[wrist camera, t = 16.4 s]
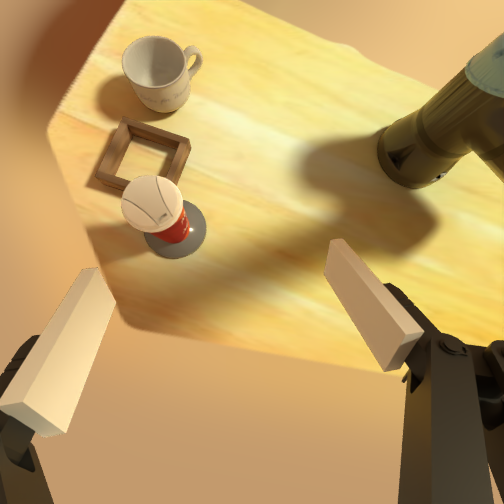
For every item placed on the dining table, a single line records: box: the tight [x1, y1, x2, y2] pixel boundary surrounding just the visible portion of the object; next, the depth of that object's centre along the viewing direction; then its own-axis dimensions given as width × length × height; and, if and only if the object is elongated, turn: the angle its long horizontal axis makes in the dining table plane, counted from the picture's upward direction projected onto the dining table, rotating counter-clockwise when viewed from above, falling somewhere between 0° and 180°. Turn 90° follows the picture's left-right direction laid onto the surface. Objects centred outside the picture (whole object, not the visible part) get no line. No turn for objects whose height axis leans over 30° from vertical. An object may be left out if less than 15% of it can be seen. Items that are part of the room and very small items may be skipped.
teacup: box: [122, 36, 203, 112], centre depth 44 cm, size 14×11×8 cm
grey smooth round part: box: [144, 200, 206, 258], centre depth 44 cm, size 11×11×1 cm
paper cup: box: [121, 175, 190, 244], centre depth 36 cm, size 8×8×14 cm
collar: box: [95, 117, 191, 191], centre depth 44 cm, size 12×12×3 cm
